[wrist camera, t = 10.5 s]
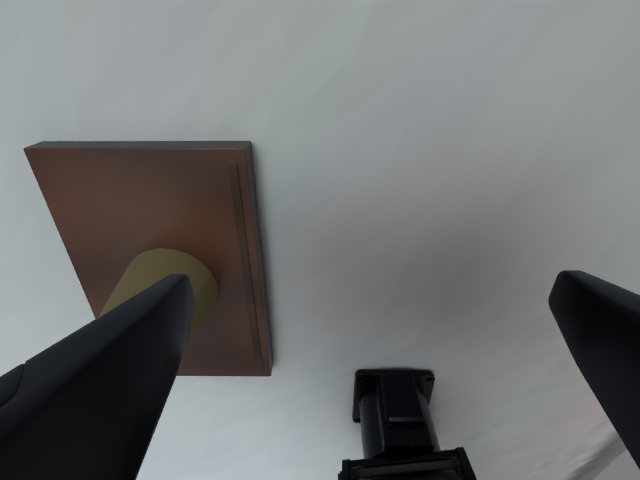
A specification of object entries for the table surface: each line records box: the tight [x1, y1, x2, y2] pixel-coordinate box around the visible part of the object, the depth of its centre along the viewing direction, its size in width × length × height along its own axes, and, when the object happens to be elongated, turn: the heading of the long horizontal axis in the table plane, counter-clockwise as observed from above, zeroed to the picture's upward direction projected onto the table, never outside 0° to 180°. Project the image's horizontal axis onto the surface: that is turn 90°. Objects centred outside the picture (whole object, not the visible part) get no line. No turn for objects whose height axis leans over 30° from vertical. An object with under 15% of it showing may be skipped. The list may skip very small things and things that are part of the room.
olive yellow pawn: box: [98, 248, 218, 352], centre depth 18 cm, size 6×6×11 cm
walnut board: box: [24, 141, 273, 376], centre depth 24 cm, size 18×12×2 cm, turn 0°
